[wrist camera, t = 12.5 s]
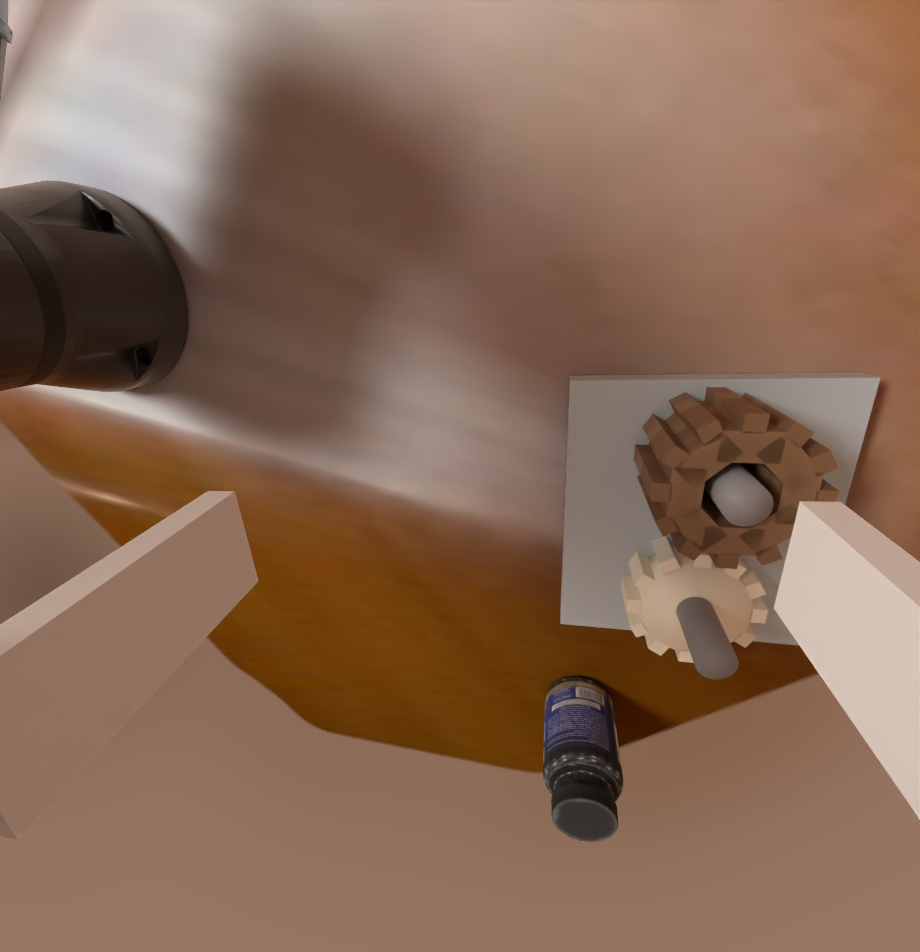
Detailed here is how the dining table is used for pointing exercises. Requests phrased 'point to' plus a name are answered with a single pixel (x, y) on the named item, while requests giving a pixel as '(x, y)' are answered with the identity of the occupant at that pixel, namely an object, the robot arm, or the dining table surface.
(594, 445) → the gear board
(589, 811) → the pill bottle
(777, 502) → the walnut gear
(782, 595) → the robot arm
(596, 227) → the dining table surface
